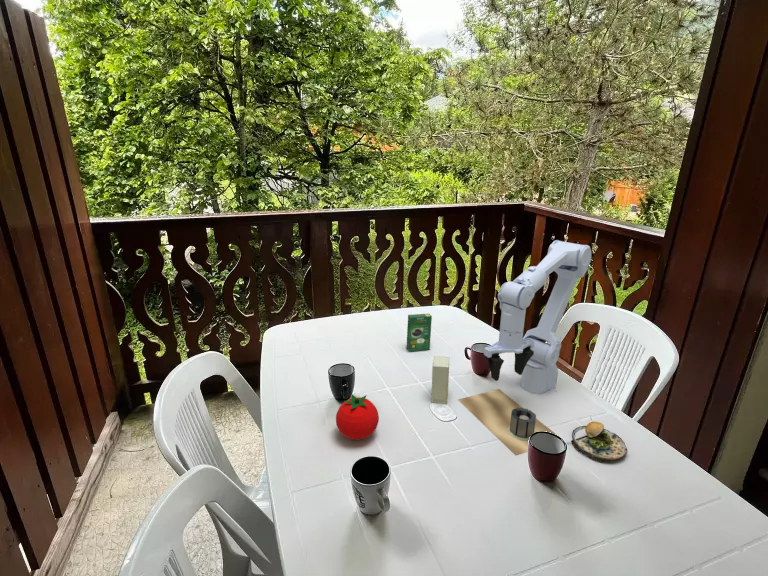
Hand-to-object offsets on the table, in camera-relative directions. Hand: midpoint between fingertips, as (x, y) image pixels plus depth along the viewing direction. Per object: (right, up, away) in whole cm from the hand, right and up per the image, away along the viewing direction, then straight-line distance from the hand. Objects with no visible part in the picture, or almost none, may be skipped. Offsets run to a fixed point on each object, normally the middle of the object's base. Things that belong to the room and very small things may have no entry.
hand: (506, 375), depth 109 cm
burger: (+18, -15, -11) cm, 26 cm away
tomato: (-39, -13, -7) cm, 42 cm away
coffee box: (-20, +1, +36) cm, 42 cm away
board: (-1, -11, -2) cm, 11 cm away
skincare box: (-17, -8, +7) cm, 20 cm away
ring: (+1, -12, -8) cm, 14 cm away
